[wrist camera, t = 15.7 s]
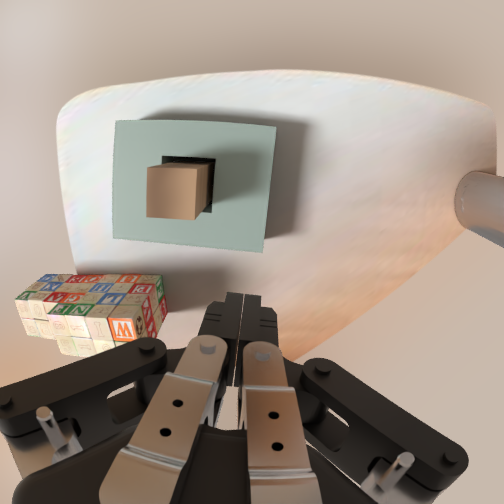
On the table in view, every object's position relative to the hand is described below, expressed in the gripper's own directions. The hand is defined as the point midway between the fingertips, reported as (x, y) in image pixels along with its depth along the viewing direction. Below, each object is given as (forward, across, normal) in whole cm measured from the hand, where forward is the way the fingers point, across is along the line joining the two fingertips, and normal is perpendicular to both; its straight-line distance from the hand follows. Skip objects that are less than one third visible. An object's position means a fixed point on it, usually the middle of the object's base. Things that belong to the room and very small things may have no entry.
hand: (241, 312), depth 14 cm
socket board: (+26, +8, -3) cm, 27 cm away
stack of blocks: (+26, +22, +15) cm, 37 cm away
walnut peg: (+26, +8, -3) cm, 27 cm away
